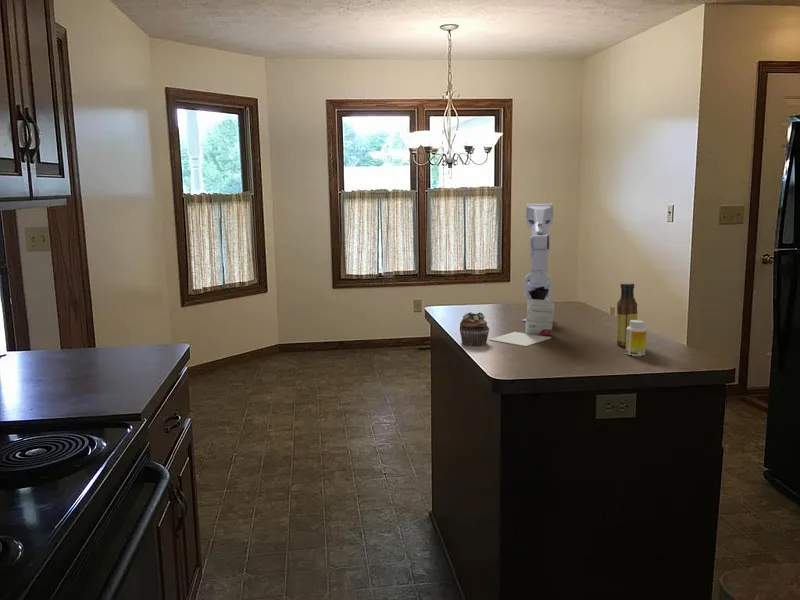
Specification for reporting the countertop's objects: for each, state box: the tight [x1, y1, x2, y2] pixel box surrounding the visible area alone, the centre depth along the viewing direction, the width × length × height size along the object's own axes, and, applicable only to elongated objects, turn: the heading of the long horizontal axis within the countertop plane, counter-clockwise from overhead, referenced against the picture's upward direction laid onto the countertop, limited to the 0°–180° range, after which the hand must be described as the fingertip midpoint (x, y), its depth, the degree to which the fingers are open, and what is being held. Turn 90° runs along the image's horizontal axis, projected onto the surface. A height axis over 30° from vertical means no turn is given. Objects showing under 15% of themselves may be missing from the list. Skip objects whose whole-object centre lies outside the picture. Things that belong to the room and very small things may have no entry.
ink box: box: [524, 299, 557, 336], centre depth 218 cm, size 9×5×12 cm
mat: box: [488, 331, 553, 347], centre depth 214 cm, size 16×14×1 cm
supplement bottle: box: [625, 319, 647, 357], centre depth 192 cm, size 6×6×10 cm
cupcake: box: [459, 311, 490, 347], centre depth 208 cm, size 10×10×10 cm
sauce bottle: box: [616, 282, 639, 348], centre depth 203 cm, size 7×6×20 cm
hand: (537, 309), depth 221 cm, fingers closed
